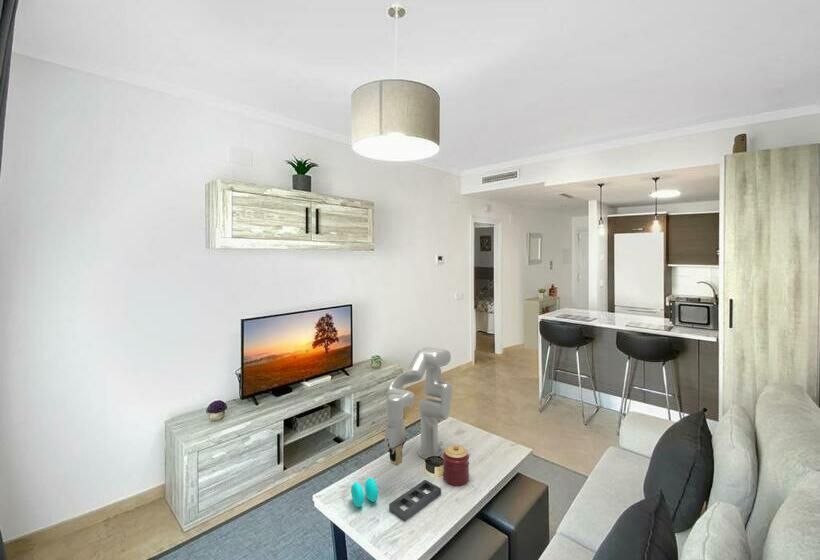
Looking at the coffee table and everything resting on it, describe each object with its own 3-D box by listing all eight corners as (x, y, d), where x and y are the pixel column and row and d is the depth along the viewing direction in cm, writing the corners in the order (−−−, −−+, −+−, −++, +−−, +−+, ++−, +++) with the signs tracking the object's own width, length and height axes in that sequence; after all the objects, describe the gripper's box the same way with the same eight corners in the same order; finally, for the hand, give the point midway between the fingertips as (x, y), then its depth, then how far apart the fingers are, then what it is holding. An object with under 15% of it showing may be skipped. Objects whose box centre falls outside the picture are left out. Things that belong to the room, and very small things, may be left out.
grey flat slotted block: (425, 485, 181) (425, 479, 181) (441, 494, 174) (440, 488, 174) (389, 510, 163) (389, 503, 163) (405, 521, 157) (405, 514, 156)
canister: (461, 468, 194) (461, 436, 193) (473, 483, 182) (473, 448, 181) (439, 473, 190) (438, 440, 189) (449, 489, 178) (449, 453, 176)
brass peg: (396, 459, 180) (395, 441, 179) (402, 462, 177) (401, 444, 176) (390, 462, 177) (389, 444, 176) (396, 466, 174) (395, 447, 173)
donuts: (379, 505, 167) (379, 484, 166) (358, 513, 162) (358, 491, 161) (370, 492, 176) (370, 472, 175) (350, 499, 171) (350, 479, 170)
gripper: (402, 413, 184) (402, 448, 186) (376, 425, 172) (377, 462, 174) (413, 417, 179) (413, 453, 180) (387, 430, 167) (388, 469, 168)
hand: (396, 457), depth 177 cm, fingers closed on brass peg, 4 cm apart
